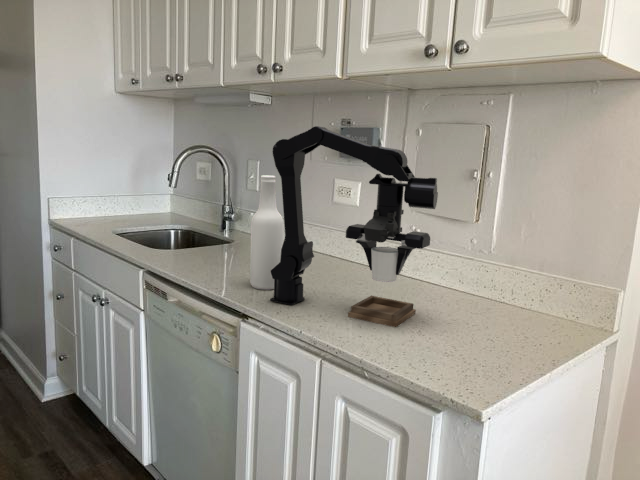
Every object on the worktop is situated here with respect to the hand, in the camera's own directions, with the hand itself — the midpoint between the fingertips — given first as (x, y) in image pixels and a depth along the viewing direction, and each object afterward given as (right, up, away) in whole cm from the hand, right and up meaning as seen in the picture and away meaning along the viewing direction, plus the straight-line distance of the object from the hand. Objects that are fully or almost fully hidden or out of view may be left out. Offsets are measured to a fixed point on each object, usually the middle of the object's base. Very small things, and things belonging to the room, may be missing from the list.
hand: (384, 272), depth 122 cm
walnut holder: (0, -10, +2) cm, 10 cm away
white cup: (0, -2, 0) cm, 2 cm away
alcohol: (-30, -5, +22) cm, 38 cm away
